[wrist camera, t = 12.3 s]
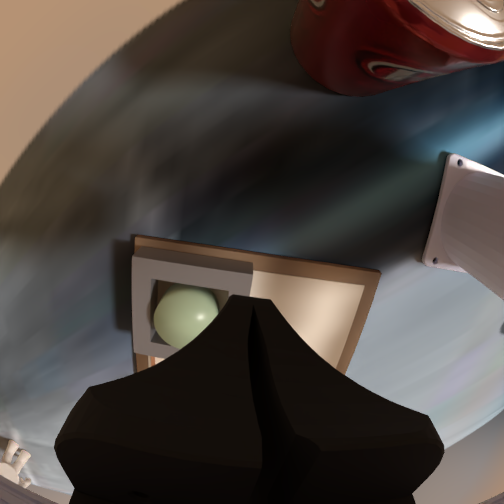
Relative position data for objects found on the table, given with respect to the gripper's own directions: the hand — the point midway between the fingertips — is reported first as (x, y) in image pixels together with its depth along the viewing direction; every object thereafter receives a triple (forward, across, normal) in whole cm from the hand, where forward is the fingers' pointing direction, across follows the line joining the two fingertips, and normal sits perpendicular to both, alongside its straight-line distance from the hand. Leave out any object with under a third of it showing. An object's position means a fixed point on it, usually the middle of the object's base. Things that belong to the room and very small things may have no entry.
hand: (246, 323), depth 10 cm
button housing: (+9, +3, +5) cm, 11 cm away
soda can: (+10, -4, -13) cm, 17 cm away
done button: (+9, +3, +5) cm, 11 cm away
